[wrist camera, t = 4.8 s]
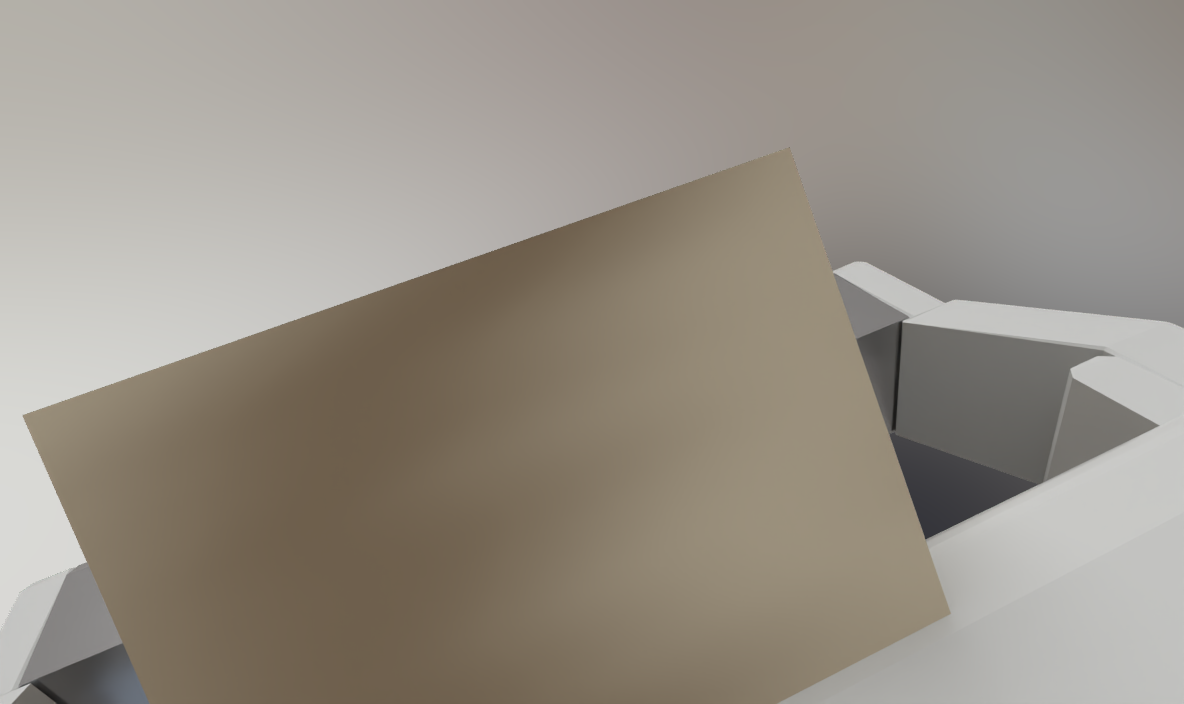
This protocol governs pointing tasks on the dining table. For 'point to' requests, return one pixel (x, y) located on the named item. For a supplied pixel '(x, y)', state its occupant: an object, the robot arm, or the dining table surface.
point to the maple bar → (516, 479)
